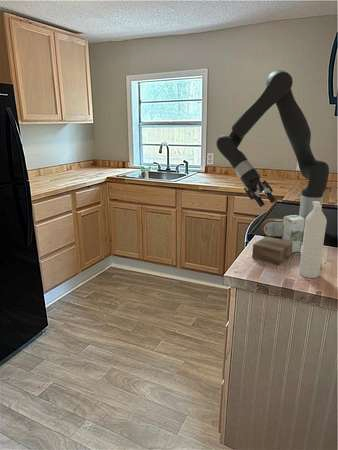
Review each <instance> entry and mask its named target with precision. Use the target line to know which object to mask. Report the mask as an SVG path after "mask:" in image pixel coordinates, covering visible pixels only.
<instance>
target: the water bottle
mask: <svg viewBox="0 0 338 450" xmlns="http://www.w3.org/2000/svg"><path fill="white" fill-rule="evenodd" d="M312 205H314V208H313V210H312V211H311V212H310V213H309V215H308V216H307V217H306V220H305V228H304V232H303V236H302V242H301V251H300V252H301V254H300V262H299V268H298V269H299V270H298V272H299V273H298V274H299V275H301V276H302V277H304V278H308V279H309V278H310V279H316V278H318V277H319V276H320V271H321V269H320V268H321V263H322V255H323V248H324V241H325V235H326V228H327V223H328V221H327V220H328V219H327V217H326V216H325V214H324V212H323V208H322V207H323V205H322V206H321V205H320V202H318V201H313V203H312Z"/></svg>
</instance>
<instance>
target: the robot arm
mask: <svg viewBox="0 0 338 450" xmlns="http://www.w3.org/2000/svg"><path fill="white" fill-rule="evenodd" d="M293 81H294V80H293V77H292V75H291V74H290V73H289V72H287V71H284V70H280V69H278V70H274V71H272V72H270V73H269V74H268V76H267V79H266V83H265V84H266V87H265V89H264V90H263V92H262V93H261V95H260V96H259V97H258V99H256V100H255V102H253V103H252V104H251V105H250V106H249V107H248V108H246V110H244V112H243V113H242V114H241V115H240V116H239V117H238V118H237V119H236V120H235V122H234V123H233V125H232V126H231V130H232V131H231V132H230V133H229V134H228V135H220V136H219V137H218V138H217V140H216V147H217V150H218V151H219V153H220V154H221V155H222V156H223V157H224V158H225V159H226V160H227V161H228V162H229V165H231V167H232V168H233V171H235V173H236V176H237V177H238V178H239V180H240V181H241V183H242V184H243V185H244V186H245V187H244V188H243V189H244V191H245V192H246V194H247V196H248V197H249V199H250V200H251V201H252V200H254V201H256V203H257V204H258V206H259V207H260V208H262V207H263V206H265V205H266V203H265V202H264V200H263V199H262V198H261V196H260V194H261V195H265V196H266V197H267V199H268V200H269V201H270V203H271V204H274V203H275V202H276V201H277V199H276V198H275V197H274V195H273V194H272V193H273V191H274V189H273V188H272V187H271V186H270V184H269V183H268V181H266V179H265V180H263V181H261V175H260V174H259V172H258V171H257V169H256V168H255V167H254V165H253V164H252V163H251V162H250V161H249V159H248V157H246V155H245V154H244V153H243V152H242V151H241V150H239V149H238V148H239V146H240V145H241V143H242V142H243V140H244V138H245V136H246V135H247V134H248V133H249V132H250V131H251V129H252V128H253V127H254V126H255V125H256V124H257V123H258V122H259V120H260V119H261V118H262V117H263V116H264V115H265V113H267V111H269V109H271V107H272V106H274V105H276V107H277V110H278V113H279V117H280V120H281V123H282V125H283V128H284V131H285V134H286V136H287V139H288V140H289V143H290V145H291V148H292V150H293V152H294V155H295V157H296V161H297V164H298V167H299V172H300V173H301V175H302V177H303V178H304V179H305V180H307V181H308V183H307V187H303V188H302V190H301V195H300V203H299V205H300V206H299V211H298V216H300V217H302V218H304V219H305V220H306V217H307V216H308V215H309V213H310V212H311V211H312V210H313V208H314V205H312V203H313V201H318V202H320V205H321V206H322V207H323V199H324V194H325V192H326V189H327V185H328V181H329V175H330V167H329V164H328V163H327V162H325V161H322V160H317V159H316V158H315V156H314V154H313V152H312V149H311V138H312V135H311V134H312V133H311V132H312V131H311V128H310V126H309V125H310V124H309V123H308V121H307V120H308V119H307V118H306V116H305V114H304V113H303V111H302V108H300V106H299V105H298V103H297V101H296V99H295V97H294V94H293V90H292V87H293V83H294V82H293ZM304 228H305V221H304ZM304 228H303V233H304Z"/></svg>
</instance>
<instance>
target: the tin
mask: <svg viewBox="0 0 338 450" xmlns="http://www.w3.org/2000/svg"><path fill="white" fill-rule="evenodd" d="M283 220H284V218H274V217H273V218H267V219H265V220H264V221H263V222H262V223H261V225H260V226H261V227H260V229H261V231H262V233H263V235H265V237H266V236H267V237H271V238H282V229H283Z"/></svg>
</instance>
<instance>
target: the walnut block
mask: <svg viewBox="0 0 338 450" xmlns="http://www.w3.org/2000/svg"><path fill="white" fill-rule="evenodd" d="M292 244H293V243H291V242H287V241H283V240H281V239H278V238H276V237H268V236H266V235H265V237H263V238H261V239H260V240H258V241H256V242H254V243H252V255H251V258H252V259H256V260H258V259H259V261H261V260H262V262H265V261H266V263H268V262H269V264H271V263H272V264H271V265H275V266H280V265H282V264H283V263H284V262H286V261H287V260H288V259H289V257H290V256H291V257H292V254H293V253H292ZM291 257H290V258H291ZM286 259H287V260H286ZM285 260H286V261H285ZM281 263H282V264H281Z"/></svg>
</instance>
